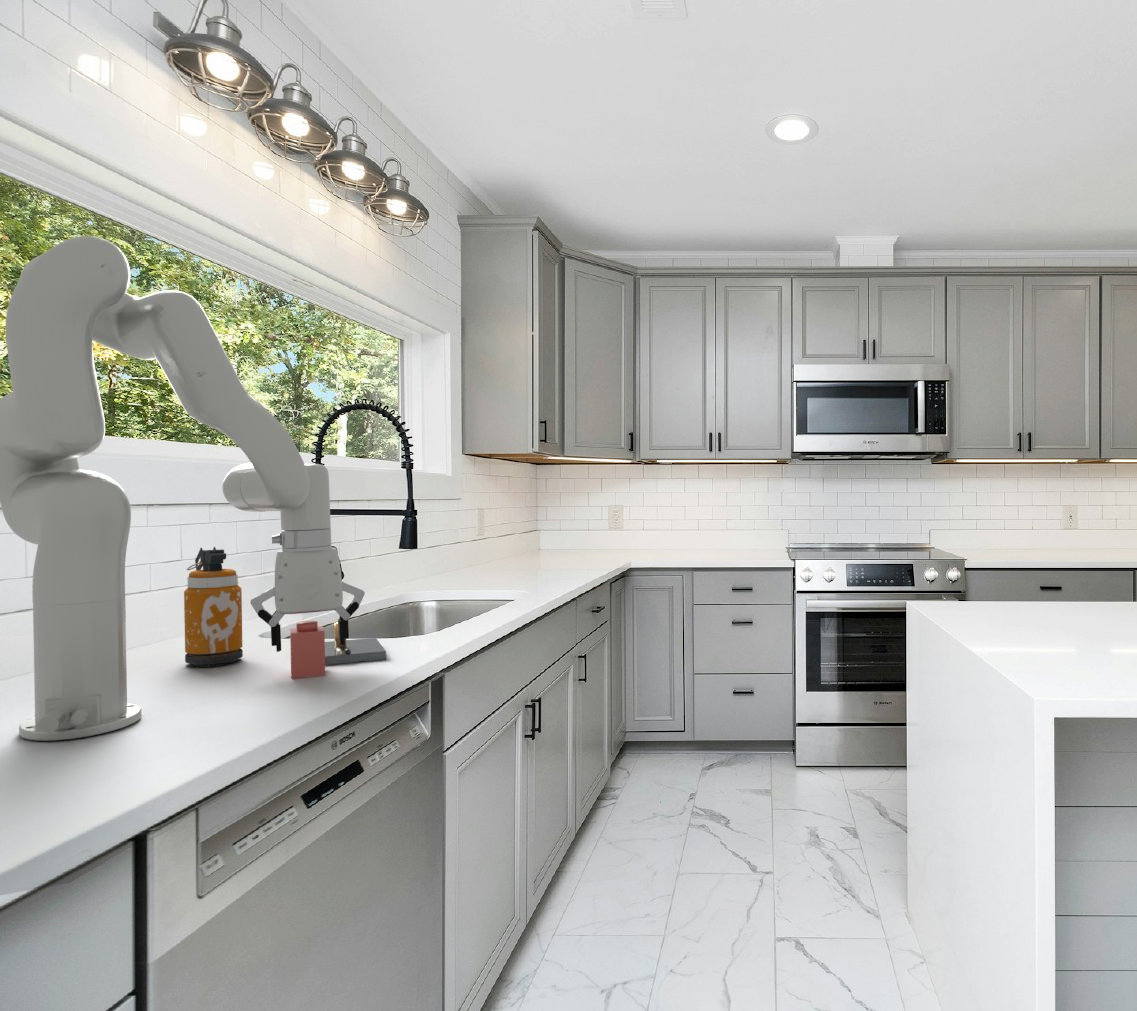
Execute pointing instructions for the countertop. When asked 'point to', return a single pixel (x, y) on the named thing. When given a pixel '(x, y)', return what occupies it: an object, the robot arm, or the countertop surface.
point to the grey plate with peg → (352, 650)
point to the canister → (212, 612)
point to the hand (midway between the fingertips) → (310, 646)
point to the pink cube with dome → (307, 649)
